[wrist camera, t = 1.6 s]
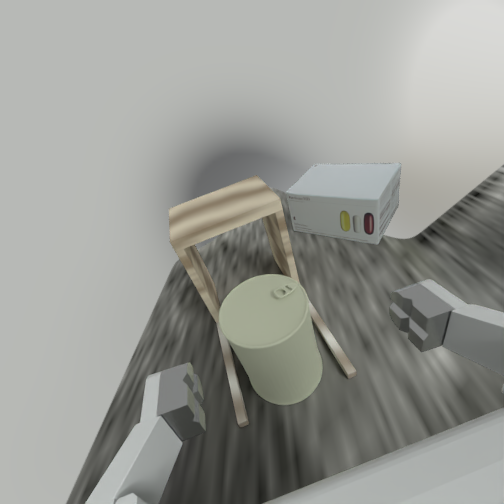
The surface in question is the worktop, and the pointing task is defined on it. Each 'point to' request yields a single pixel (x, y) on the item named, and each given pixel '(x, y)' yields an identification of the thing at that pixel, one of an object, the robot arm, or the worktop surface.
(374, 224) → the supplement box
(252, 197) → the tunnel
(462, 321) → the robot arm
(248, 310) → the can
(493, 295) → the worktop surface
